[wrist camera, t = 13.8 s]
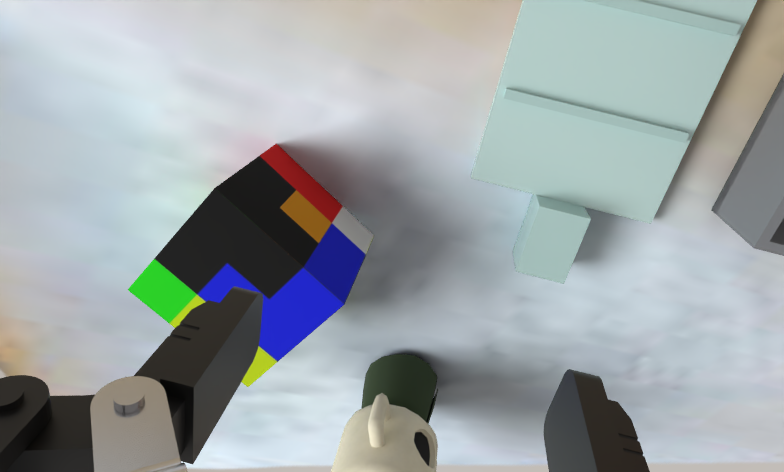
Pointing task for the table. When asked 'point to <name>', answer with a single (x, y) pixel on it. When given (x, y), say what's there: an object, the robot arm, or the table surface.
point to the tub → (759, 183)
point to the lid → (600, 112)
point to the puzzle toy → (262, 254)
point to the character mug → (392, 420)
